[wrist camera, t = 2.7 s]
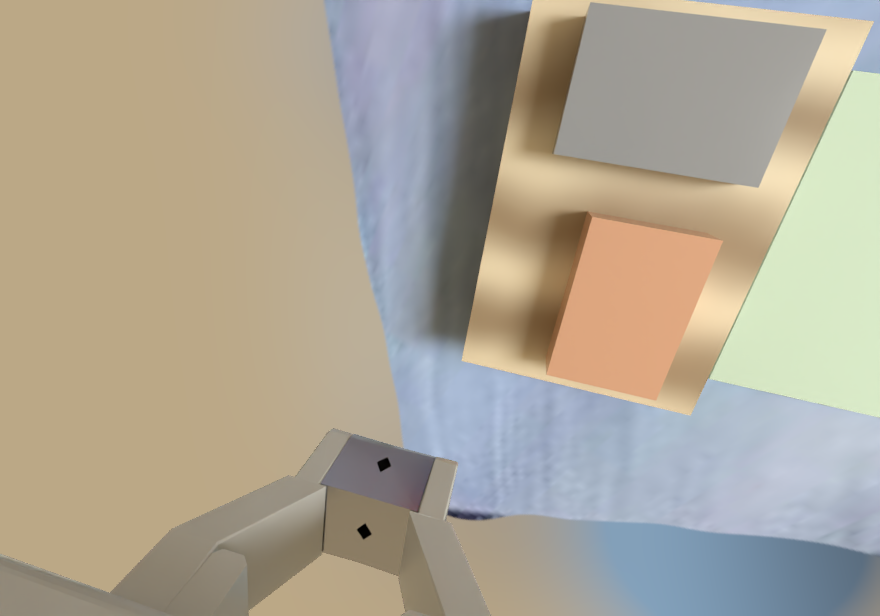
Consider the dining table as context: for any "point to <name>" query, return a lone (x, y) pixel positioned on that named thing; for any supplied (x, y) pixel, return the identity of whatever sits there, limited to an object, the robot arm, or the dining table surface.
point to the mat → (821, 274)
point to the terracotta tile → (628, 303)
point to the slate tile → (683, 91)
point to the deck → (630, 201)
